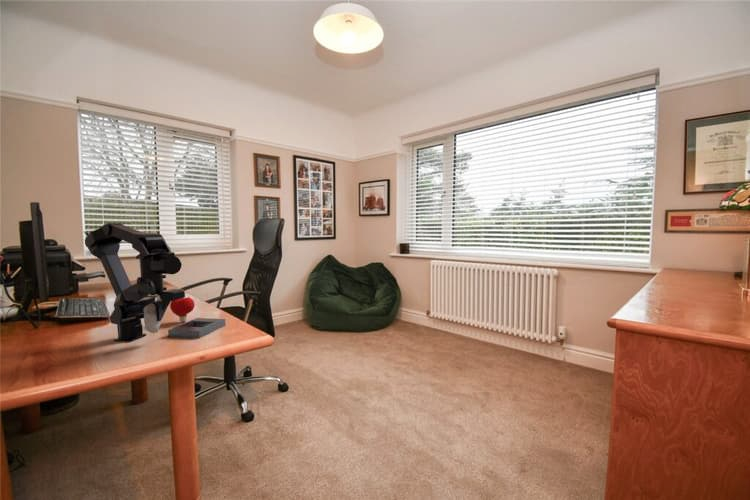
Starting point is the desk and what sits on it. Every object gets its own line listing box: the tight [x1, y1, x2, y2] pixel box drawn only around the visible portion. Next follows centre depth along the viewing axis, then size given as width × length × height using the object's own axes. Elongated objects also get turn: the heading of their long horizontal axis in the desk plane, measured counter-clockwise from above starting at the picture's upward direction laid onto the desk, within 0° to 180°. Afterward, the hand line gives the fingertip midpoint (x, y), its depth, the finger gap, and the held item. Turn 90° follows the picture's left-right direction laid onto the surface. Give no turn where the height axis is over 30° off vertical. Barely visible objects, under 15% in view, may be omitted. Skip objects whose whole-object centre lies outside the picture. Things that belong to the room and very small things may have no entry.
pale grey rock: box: [143, 303, 162, 334], centre depth 101 cm, size 6×4×10 cm, turn 172°
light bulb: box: [169, 296, 196, 324], centre depth 124 cm, size 9×7×10 cm
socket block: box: [167, 317, 226, 339], centre depth 114 cm, size 12×14×2 cm
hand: (154, 320), depth 101 cm, fingers closed on pale grey rock, 3 cm apart
